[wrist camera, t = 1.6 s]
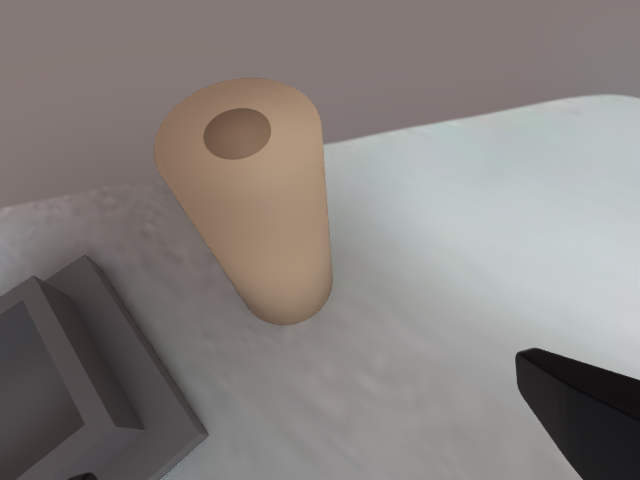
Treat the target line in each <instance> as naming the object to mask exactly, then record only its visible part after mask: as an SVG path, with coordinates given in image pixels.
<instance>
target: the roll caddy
mask: <svg viewBox="0 0 640 480" xmlns="http://www.w3.org/2000/svg"><path fill="white" fill-rule="evenodd" d="M208 436H209V435H208V434H207V432H206V431H205V429H204V427H203V426H202V424H201V423H200V421H199V420H198V418H197V417H196V415H195V414H194V412H193V411H192V409H191V408H190V406H189V404H188V403H187V401H186V400H185V398H184V397H183V395H182V394H181V392H180V391H179V389H178V388H177V386H176V384H175V383H174V381H173V380H172V378H171V377H170V375H169V374H168V372H167V371H166V369H165V368H164V366H163V364H162V363H161V361H160V360H159V358H158V357H157V355H156V354H155V352H154V351H153V349H152V348H151V346H150V345H149V343H148V341H147V340H146V338H145V337H144V335H143V334H142V332H141V331H140V329H139V328H138V326H137V325H136V323H135V321H134V320H133V318H132V317H131V315H130V314H129V312H128V311H127V309H126V308H125V306H124V305H123V303H122V301H121V300H120V298H119V297H118V295H117V294H116V292H115V291H114V289H113V288H112V286H111V285H110V283H109V282H108V280H107V278H106V277H105V275H104V274H103V272H102V271H101V269H100V268H99V266H98V265H97V264H96V263H95V262H93V261H92V260H91V259H90V258H88V257H87V256H86V255H84V256H82V257H81V258H79V259H78V260H76V261H74V262H73V263H71V264H70V265H68V266H67V267H65V268H64V269H62V270H61V271H59V272H58V273H56V274H55V275H53V276H52V277H50V278H49V279H47V280H46V281H42V280H41V279H39V278H37V277H35V276H32V277H31V278H29V279H28V280H26V281H25V282H23V283H22V284H20V285H18V286H17V287H15V288H14V289H12V290H11V291H9V292H8V293H6V294H5V295H3V296H2V297H0V480H67V479H69V478H70V477H73V476H76V475H80V474H83V473H87V472H92V473H94V474H95V475H96V477H97V479H98V480H160V479H161V478H162V477H163V476H164V475H165V474H166V473H167V472H169V471H170V470H171V469H172V468H173V467H174V466H175V465H176V464H177V463H179V462H180V461H181V460H182V459H183V458H184V457H185V456H186V455H188V454H189V453H190V452H191V451H192V450H193V449H194V448H195V447H196V446H198V445H199V444H200V443H201V442H202V441H203V440H204V439H205V438H206V437H208Z"/></svg>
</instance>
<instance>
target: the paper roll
mask: <svg viewBox="0 0 640 480" xmlns="http://www.w3.org/2000/svg"><path fill="white" fill-rule="evenodd" d="M154 158H155V163H156V166H157V168H158V170H159V172H160V174H161V175H162V177H163V178H164V180H165V181H166V183H167V184H168V186H169V188H170V189H171V191H172V192H173V194H174V195H175V197H176V198H177V200H178V201H179V203H180V204H181V206H182V207H183V209H184V210H185V212H186V213H187V215H188V217H189V218H190V220H191V221H192V223H193V224H194V226H195V227H196V229H197V230H198V232H199V233H200V235H201V236H202V238H203V239H204V241H205V243H206V244H207V246H208V247H209V249H210V250H211V252H212V253H213V255H214V256H215V258H216V259H217V261H218V262H219V264H220V265H221V267H222V269H223V270H224V272H225V273H226V275H227V276H228V278H229V279H230V281H231V282H232V284H233V285H234V287H235V288H236V290H237V291H238V293H239V295H240V296H241V298H242V299H243V301H244V302H245V304H246V305H247V307H248V308H249V309H250V311H251V312H252V313H253V314H254V315H256V316H257V317H258V318H260V319H262V320H264V321H266V322H269V323H272V324H278V325H290V324H295V323H299V322H302V321H304V320H306V319H308V318H310V317H311V316H313V315H314V314H316V313H317V312H318V311H319V310H320V309H321V308H322V307H323V305H324V304H325V302H326V301H327V299H328V297H329V295H330V292H331V289H332V279H333V277H332V263H331V250H330V236H329V222H328V209H327V195H326V181H325V167H324V154H323V141H322V127H321V120H320V117H319V114H318V112H317V110H316V108H315V106H314V105H313V104H312V102H311V101H310V100H309V99H308V98H307V97H306V96H305V95H304V94H302V93H301V92H299V91H298V90H297V89H295V88H293V87H291V86H289V85H286V84H284V83H281V82H278V81H274V80H268V79H261V78H242V79H233V80H229V81H223V82H220V83H216V84H213V85H211V86H208V87H206V88H204V89H201V90H199V91H197V92H195V93H194V94H192V95H191V96H189V97H187V98H186V99H184V100H183V101H182V102H180V103H179V104H178V105H177V106H176V107H175V108H174V109H173V110H172V111H171V112H170V113H169V114H168V115H167V117H166V118H165V119H164V121H163V122H162V124H161V126H160V128H159V130H158V132H157V135H156V138H155V144H154Z"/></svg>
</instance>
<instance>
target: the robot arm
mask: <svg viewBox="0 0 640 480" xmlns="http://www.w3.org/2000/svg"><path fill="white" fill-rule="evenodd" d="M515 362H516V375H517V385H518V389H519V391H520V393H521V395H522V397H523V398H524V399H525V401H526V402H527V404H528V405H529V407H530V408H531V409H532V411H533V412H534V414H535V415H536V417H537V418H538V420H539V421H540V422H541V424H542V425H543V427H544V428H545V430H546V431H547V432H548V434H549V435H550V437H551V438H552V440H553V441H554V442H555V444H556V445H557V447H558V448H559V450H560V451H561V452H562V454H563V455H564V456H565V458H566V459H567V461H568V462H569V463H570V464H571V466H572V467H573V468H574V469H575V471H576V472H577V473H578V474H579V475H580V477H581V478H582V479H583V480H640V380H638V379H635V378H631V377H628V376H625V375H622V374H619V373H615V372H612V371H609V370H606V369H603V368H599V367H596V366H593V365H590V364H587V363H583V362H580V361H577V360H574V359H571V358H567V357H564V356H561V355H558V354H555V353H551V352H548V351H545V350H542V349H539V348H530V349H527V350H523V351H519V352H518V353H517V354H516V356H515ZM67 480H98V479H97V477H96V475H95V474H94V473H92V472H87V473H83V474H80V475H76V476H73V477H70V478H69V479H67Z"/></svg>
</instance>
